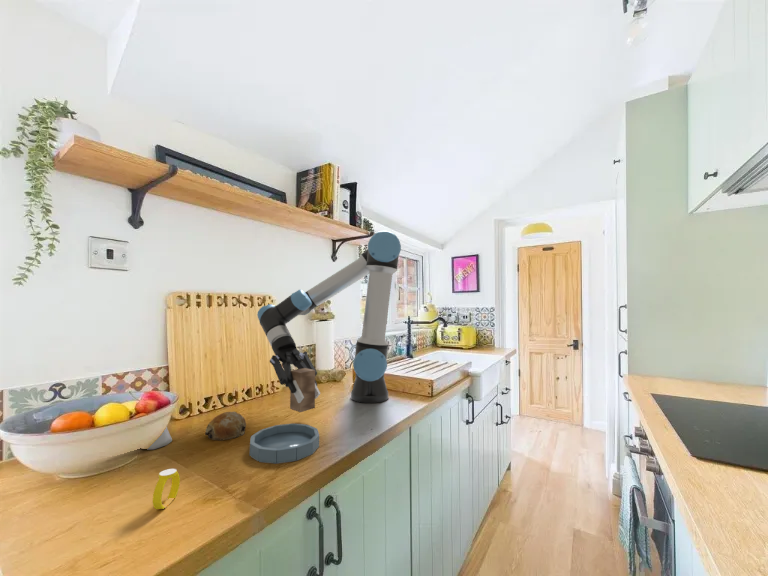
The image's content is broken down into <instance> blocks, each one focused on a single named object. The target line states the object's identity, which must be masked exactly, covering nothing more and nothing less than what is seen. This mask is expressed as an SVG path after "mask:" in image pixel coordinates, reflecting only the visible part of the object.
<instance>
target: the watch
mask: <svg viewBox="0 0 768 576" xmlns="http://www.w3.org/2000/svg"><path fill="white" fill-rule="evenodd" d="M168 479H171V486H170V490H169V493H168V496H167V498H168V499H169V498H175V499H176V497H177V495H178V492H179V488H180V483H181V480H180V479H181V477H180V474H179V472H178V471H177V468H168V469H164V470H162V471H160V472H159V473H158V480H157V482H156V485H155V487H154V490H153V494H152V505H153V508H154V509H156V510H157V509H164V508H165V507H164V506H163V505H162V503H163V501H162V497H163V491H164V488H165V485H166V483H167V481H168ZM167 498H166V499H167Z"/></svg>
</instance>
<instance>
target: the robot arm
mask: <svg viewBox="0 0 768 576" xmlns="http://www.w3.org/2000/svg"><path fill="white" fill-rule="evenodd" d="M401 251H402V245H401V242H400V239H399V238H398V237H397V235H396V234H395V233H393V232H392V231H388V230H380V231H377V232H376V233H374V234H372V235H371V237H370V239H369V241H368V243H367V249H366V250H365V251H364V252H362V253H361V254H360V255H359V258H357V259H355V260H354V261H352V262H350V263H349V264H348V265H346V266H344V267H343V268H341V269H340V270H338V271H337V272H334V273H333V274H332V275H330V276H329V277H327V278H325V279H324V280H322V281H321V282H319V283H318V284H316V285H314V286H313V287H311V288H310V289H308V290H306V291H304V290H303V289H298V290H296V291H295V292H293V293H291V294H290V295H289V296H288V297H286V298H285V299H284V300H282V301H281V302H279V303H278V304H277V305H274V304H269V303H268V304H266V305H263V306H262V307H260V308H259V309H258V311H257V314H256V315H257V319H258V321H259V325H260V326H261V327H262V330H263V332H264V334H265V337H266V338H267V340H268V343H269V345H270V346H271V349H272V352H273V353H274V354H273V355H272V356H271V358H270V360H269V363H270V364H271V365H272V367H273V369H274V371H275V375H276V376H277V379H278V382H279V383H280V386H281V385H282V386H284V385H285V387H286V388H289V391H291V393H294V395H295V397H296V399H297V402H298V403H301V401H302V400H303V398H304V396H303V394H302V392H301V390H300V388H299V386H298V384H297V382H296V380H294V381H292V380H293V378H292V372H291V370H292V368H291V365H293V366H294V367H295V368H297V369H302V368H307V369H312V370H315V377H317V375H318V371H317V369H316V368H315V366H314V364H313V363H312V361H311V359H310V358H309V355H308V351H305V350H304V352H300V350H299V349H298V348H297V343H295V340H294V338H293V336H292V335H291V332H290V330H289V328H288V327H287V326H286V324H288V323H290V322H291V321H292V320H293V319H295V318H297V317H298V316H305V315H307V314H309V313H311V312H312V311H313V310H314V309H316V308H317V307H319V306H320V305H321V304H324V303H325V302H326V301H328V300H329V299H331V298H333V297H335V296H336V295H338V294H339V293H341V292H342V291H344V290H345V289H347V288H349V287H350V286H352V285H354V284H355V283H357V282H358V281H360V280H362V279H363V278H365V277H366V276H367V275H368V281H367V282H368V283H367V289H366V297H365V306H364V315H363V321H362V322H363V323H362V331H361V336H360V337H359V338H358V339H356V343H355V347H354V348H355V354H354V358H353V363H352V367H353V371H354V372H355V380H354V383H353V386H352V390H351V391H350V399H351V400H352V401H354V402H357V403H364V404H376V403H381V402H386V401H387V400H388V399H389V391H388V388H387V384H386V380H385V373H386V372H387V368H388V361H387V358H388V350H389V342H388V341H387V340H386V330H387V323H388V315H389V314H388V313H389V308H390V307H389V305H390V299H391V298H390V297H391V292H392V291H391V289H392V281H393V274H395V273H396V272H397V271H398V265H399V257H400V254H401ZM320 395H321V391H320V390H319V388H318V383H317V381H316V380H315V400H316V399H318V398H319V396H320Z"/></svg>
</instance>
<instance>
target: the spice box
mask: <svg viewBox="0 0 768 576" xmlns="http://www.w3.org/2000/svg"><path fill="white" fill-rule="evenodd" d="M315 370H316V369H315ZM315 370H312V369H307V368H302V369H298V368H297V369H291V372H292V378H293V380H292V381H294V380H296V382H297V384H298V386H299V388H300V390H301V392H302V394H303V396H304V398H303V400H302V401H301V403H298V402H297V399H296V397H295V395H294V393H291V391H290V390H289V391H290V392H289V393H290V394H289V397H290V399H289V404H290V405H289V406H290V407H289V409H291V410H293V411H295V412H299V413H303V412H307V411H309V410H313V409H315V408H316V399H315V381H316V376H315Z"/></svg>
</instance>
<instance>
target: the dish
mask: <svg viewBox="0 0 768 576" xmlns="http://www.w3.org/2000/svg"><path fill="white" fill-rule="evenodd" d="M249 439H250V440H249V441H250V442H249V457H250V456H251V457H250V458H252V459H254V460H255V461H257V462H258V461H259V463H267V464H284V463H291V462H296V461H300V460H302V459H304V458H307V457H309V456H312V455H313V454H314V453H315V452H316V451H317V449H319V447H320V433H319V430H318V428H317V427H314V426H312V425H309V424H308V423H307V424H305V423H293V422H292V423H284V424H282V423H281V424H274V425H273V426H268V427H265V428H263V429H259V430H258V431H257V432H255V433H254V434H253V435H251V436H250V438H249Z"/></svg>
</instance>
